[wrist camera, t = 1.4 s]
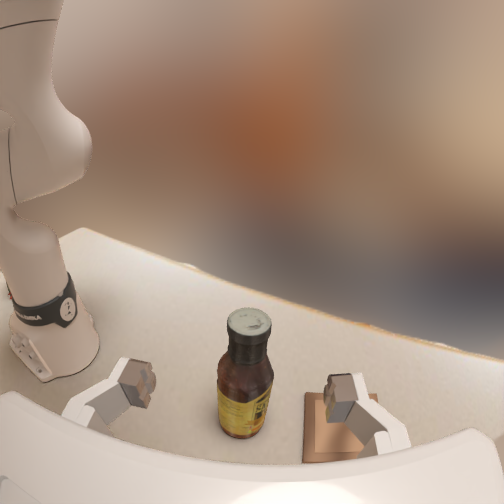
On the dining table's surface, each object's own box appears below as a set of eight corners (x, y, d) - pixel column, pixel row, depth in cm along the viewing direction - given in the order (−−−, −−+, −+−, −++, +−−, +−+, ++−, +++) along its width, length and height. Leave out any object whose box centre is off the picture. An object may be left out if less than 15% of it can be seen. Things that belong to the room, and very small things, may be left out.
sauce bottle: (260, 443, 30) (282, 355, 20) (214, 435, 30) (205, 343, 21) (265, 405, 35) (286, 305, 26) (224, 399, 36) (223, 296, 27)
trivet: (302, 462, 27) (303, 461, 26) (304, 394, 37) (306, 391, 37) (383, 458, 26) (386, 456, 25) (374, 396, 36) (376, 393, 36)
